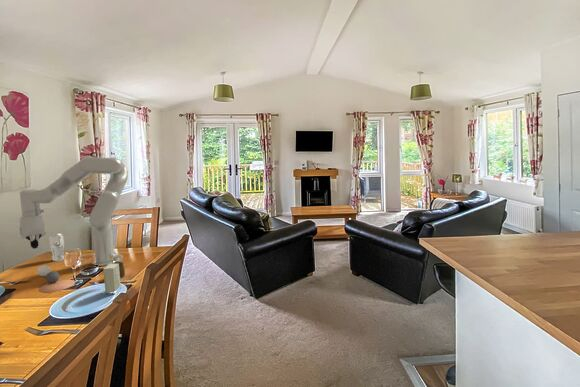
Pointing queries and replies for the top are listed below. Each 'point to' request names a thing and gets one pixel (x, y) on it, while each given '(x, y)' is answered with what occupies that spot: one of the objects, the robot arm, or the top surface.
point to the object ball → (52, 277)
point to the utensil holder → (121, 267)
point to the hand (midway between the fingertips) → (34, 247)
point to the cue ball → (43, 270)
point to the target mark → (57, 286)
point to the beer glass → (57, 246)
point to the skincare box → (111, 277)
